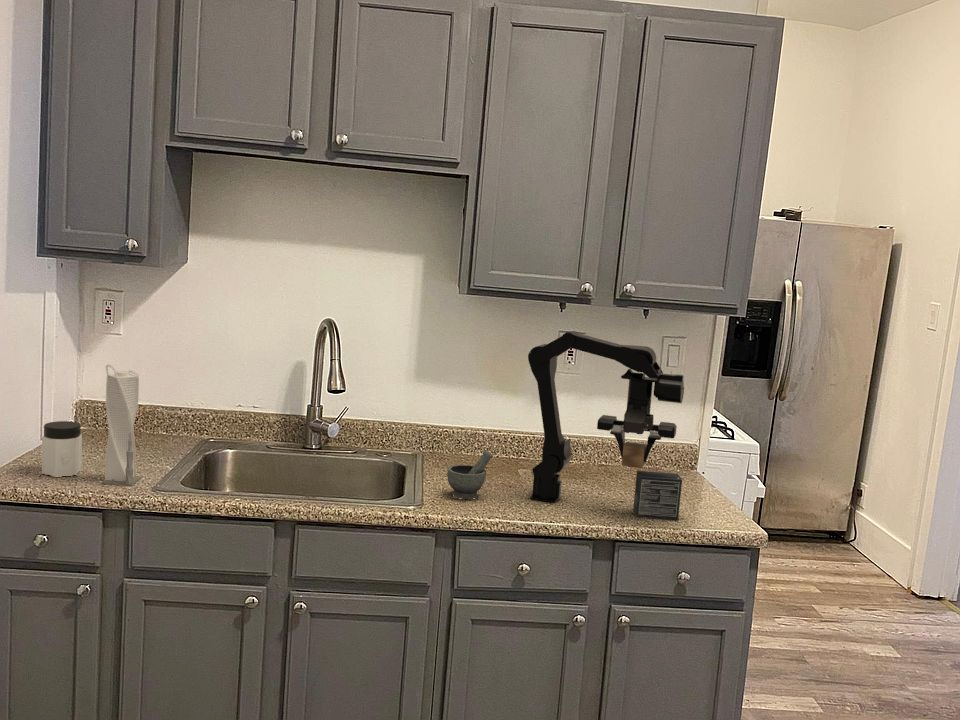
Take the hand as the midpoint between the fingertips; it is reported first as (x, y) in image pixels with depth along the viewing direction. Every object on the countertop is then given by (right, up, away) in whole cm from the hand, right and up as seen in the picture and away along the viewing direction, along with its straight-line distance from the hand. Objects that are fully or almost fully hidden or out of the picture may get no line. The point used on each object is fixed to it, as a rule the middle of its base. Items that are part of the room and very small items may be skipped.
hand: (633, 460), depth 230 cm
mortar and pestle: (-41, -10, +5) cm, 42 cm away
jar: (-139, -3, -3) cm, 140 cm away
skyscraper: (-124, -4, -5) cm, 125 cm away
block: (0, -1, 0) cm, 1 cm away
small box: (+6, -14, +2) cm, 15 cm away
